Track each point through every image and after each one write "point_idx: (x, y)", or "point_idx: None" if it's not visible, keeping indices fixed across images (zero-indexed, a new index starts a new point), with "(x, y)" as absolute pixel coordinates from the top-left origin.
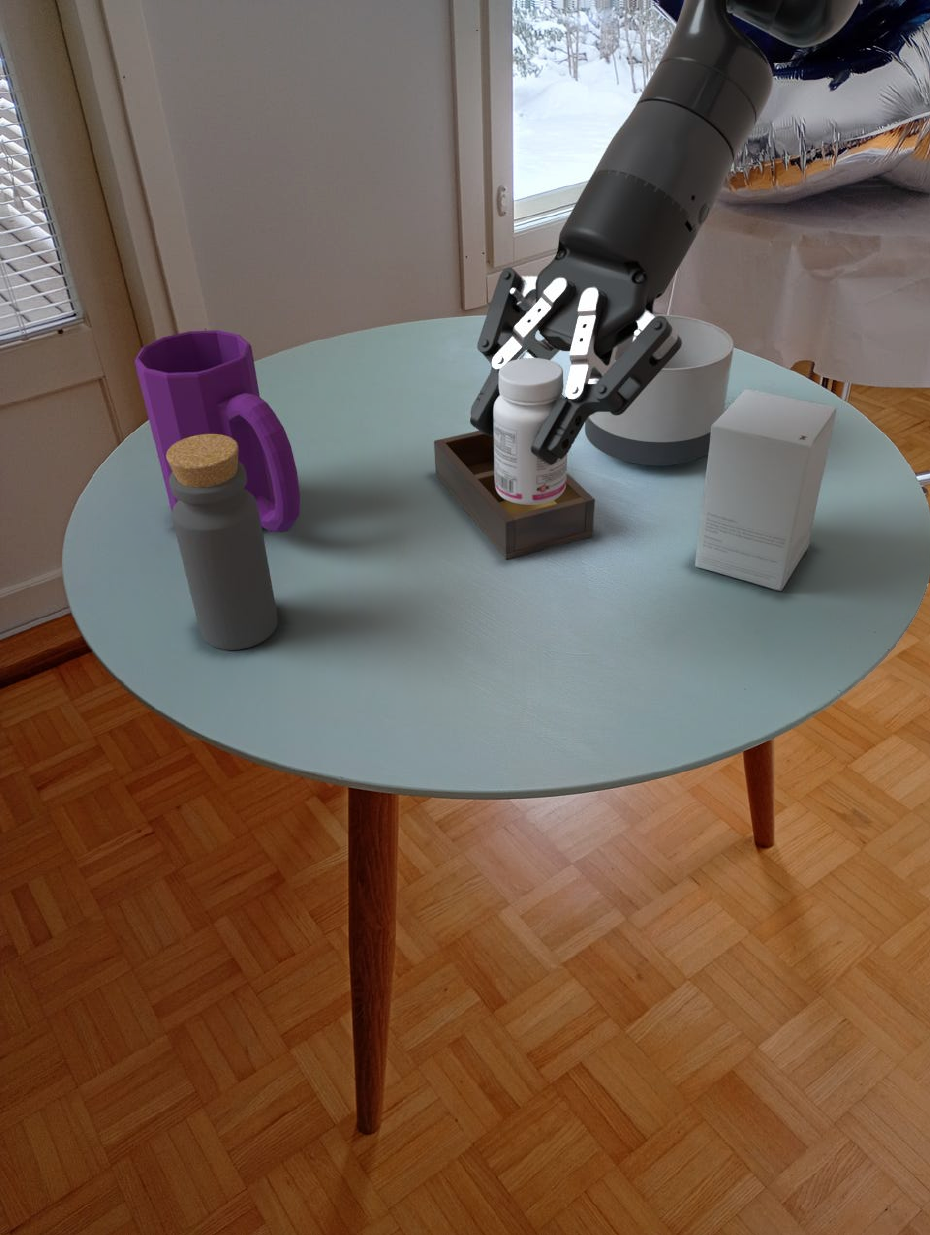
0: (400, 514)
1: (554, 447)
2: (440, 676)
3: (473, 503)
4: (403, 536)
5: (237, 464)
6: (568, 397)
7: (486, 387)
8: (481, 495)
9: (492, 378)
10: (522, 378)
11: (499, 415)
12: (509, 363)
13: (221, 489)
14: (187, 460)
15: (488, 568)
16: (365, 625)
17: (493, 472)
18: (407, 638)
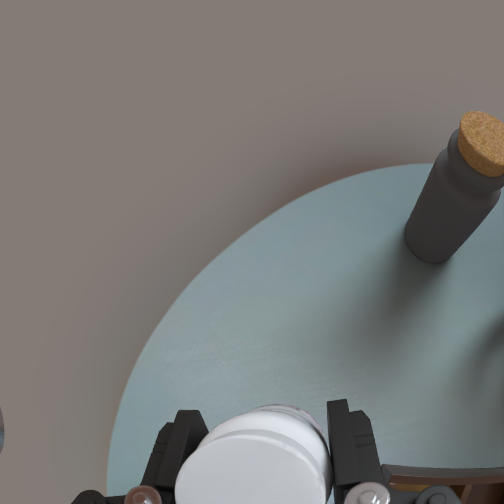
0: (492, 415)
1: (163, 427)
2: (292, 329)
3: (453, 472)
4: (467, 403)
5: (480, 168)
6: (149, 487)
7: (368, 456)
8: (443, 476)
9: (356, 466)
10: (227, 464)
11: (271, 415)
12: (315, 496)
13: (452, 149)
14: (474, 118)
15: (383, 445)
16: (383, 315)
17: (462, 502)
18: (348, 334)
